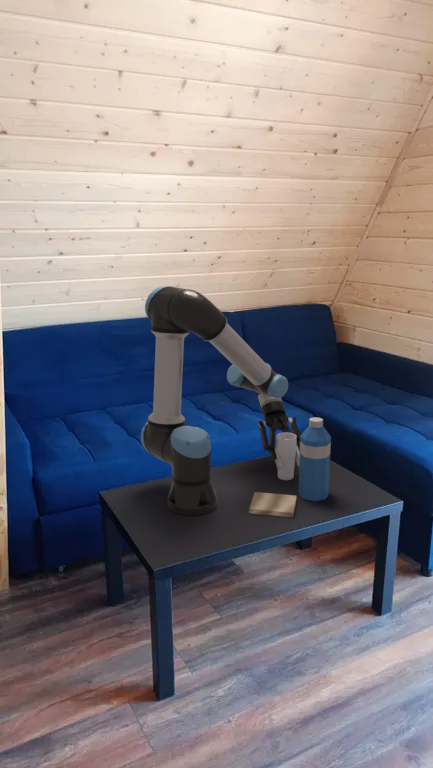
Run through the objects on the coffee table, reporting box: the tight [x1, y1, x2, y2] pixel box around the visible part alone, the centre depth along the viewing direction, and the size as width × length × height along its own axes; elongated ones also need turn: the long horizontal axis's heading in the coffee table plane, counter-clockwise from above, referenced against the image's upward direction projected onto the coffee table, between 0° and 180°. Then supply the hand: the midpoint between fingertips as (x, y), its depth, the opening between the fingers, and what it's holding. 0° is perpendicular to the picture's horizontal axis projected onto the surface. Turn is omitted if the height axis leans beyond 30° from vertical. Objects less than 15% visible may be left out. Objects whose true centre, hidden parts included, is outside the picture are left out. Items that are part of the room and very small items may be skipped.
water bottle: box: [298, 416, 332, 502], centre depth 180 cm, size 9×9×25 cm
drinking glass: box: [275, 432, 297, 481], centre depth 194 cm, size 7×7×15 cm
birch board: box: [248, 491, 298, 518], centre depth 176 cm, size 13×11×2 cm
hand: (290, 466), depth 191 cm, fingers closed on drinking glass, 7 cm apart
